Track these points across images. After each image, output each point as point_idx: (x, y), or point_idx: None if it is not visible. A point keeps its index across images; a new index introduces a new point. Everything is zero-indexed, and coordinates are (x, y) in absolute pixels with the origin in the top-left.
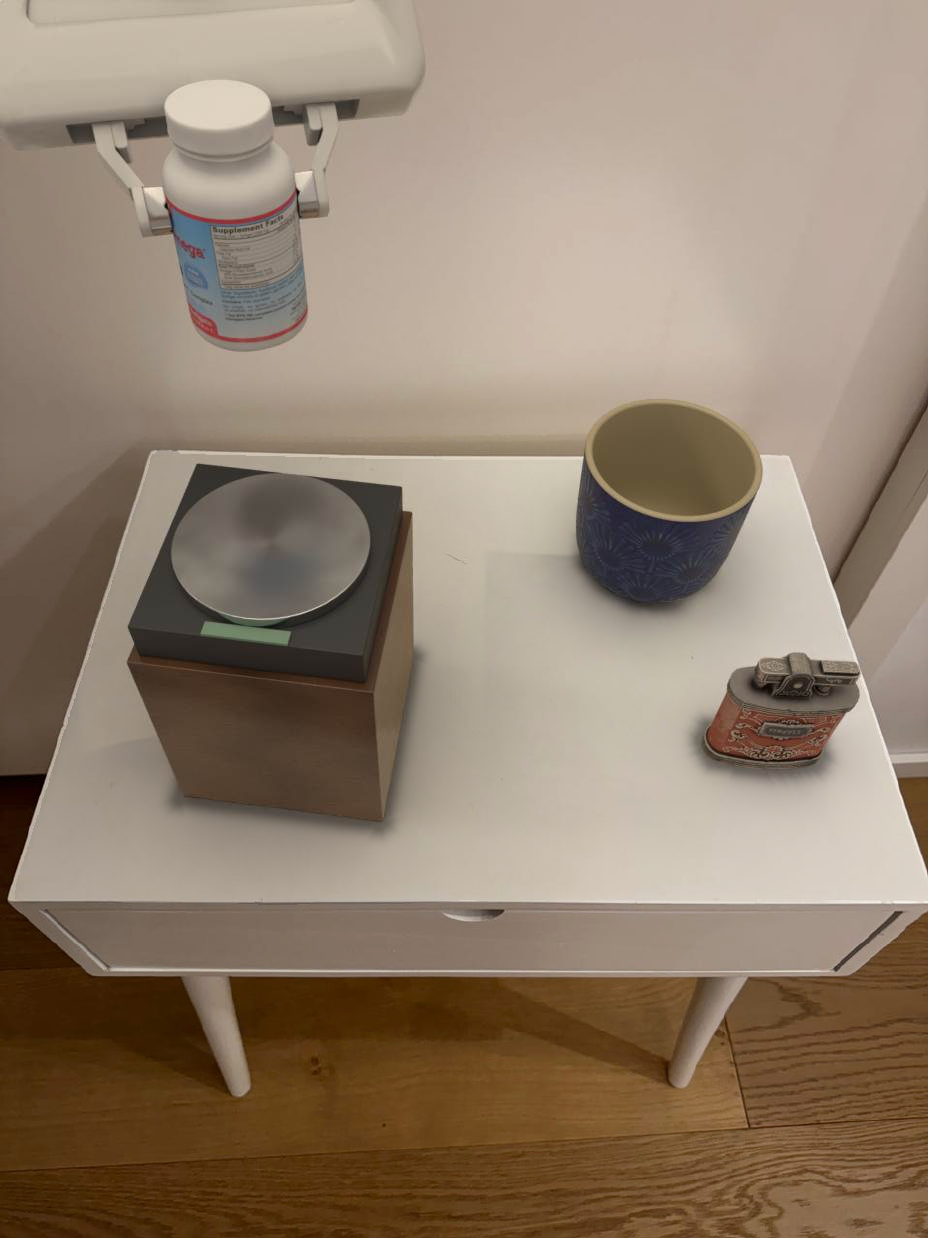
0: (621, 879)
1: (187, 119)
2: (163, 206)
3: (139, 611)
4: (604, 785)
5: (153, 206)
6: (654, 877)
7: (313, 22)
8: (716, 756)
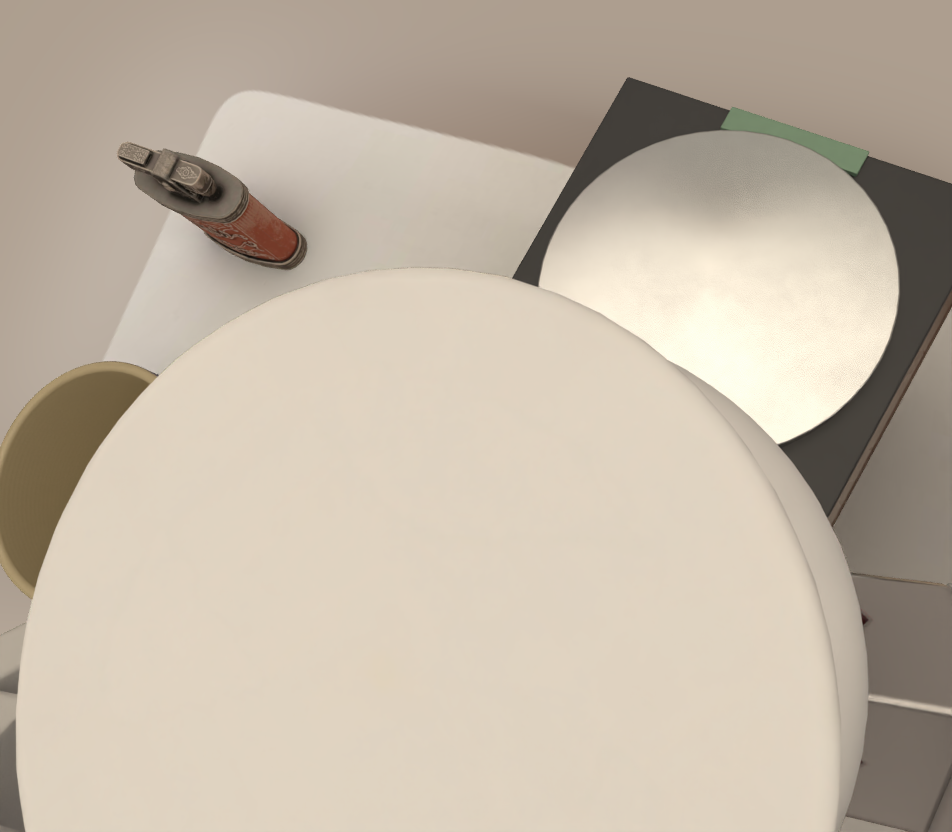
0: (447, 149)
1: (665, 454)
2: (872, 619)
3: None
4: (413, 241)
5: (927, 630)
6: (418, 144)
7: None
8: (299, 233)
